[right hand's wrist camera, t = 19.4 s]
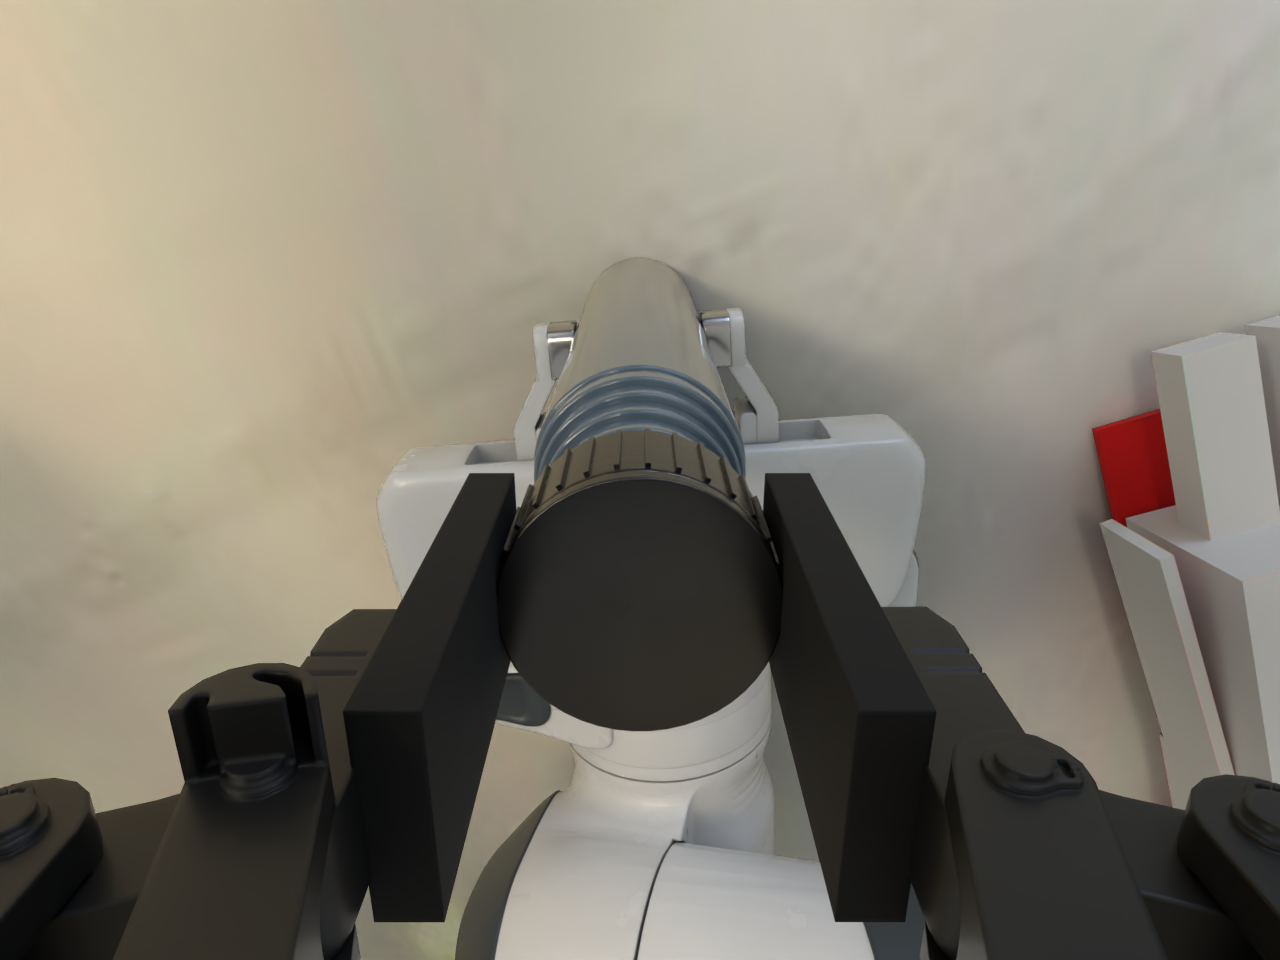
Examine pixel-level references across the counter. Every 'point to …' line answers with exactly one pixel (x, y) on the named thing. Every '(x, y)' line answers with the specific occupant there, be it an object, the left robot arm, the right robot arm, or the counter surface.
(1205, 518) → the toy
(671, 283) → the bottle
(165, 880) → the right robot arm
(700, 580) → the cap
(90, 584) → the counter surface
